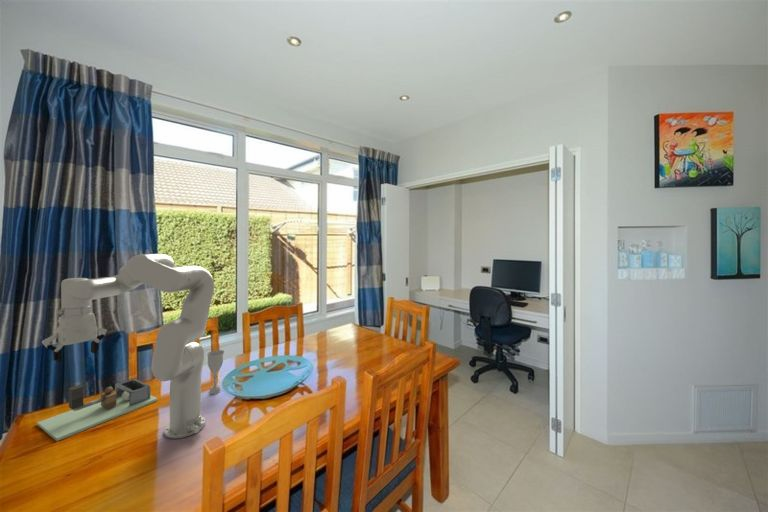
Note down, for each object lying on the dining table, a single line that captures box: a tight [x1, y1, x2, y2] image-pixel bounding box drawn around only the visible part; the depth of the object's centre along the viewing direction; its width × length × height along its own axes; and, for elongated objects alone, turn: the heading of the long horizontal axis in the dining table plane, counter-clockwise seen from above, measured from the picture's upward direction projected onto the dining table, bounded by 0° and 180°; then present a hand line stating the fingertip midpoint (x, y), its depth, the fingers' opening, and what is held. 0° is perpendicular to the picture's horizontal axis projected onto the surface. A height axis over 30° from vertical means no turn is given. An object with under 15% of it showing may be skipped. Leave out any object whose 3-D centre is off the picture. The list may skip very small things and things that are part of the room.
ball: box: [122, 391, 129, 400], centre depth 124 cm, size 4×4×4 cm
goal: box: [114, 378, 151, 406], centre depth 126 cm, size 13×7×7 cm, turn 63°
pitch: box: [36, 394, 159, 442], centre depth 117 cm, size 18×30×1 cm, turn 153°
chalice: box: [206, 349, 225, 395], centre depth 135 cm, size 7×7×18 cm
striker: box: [68, 384, 116, 411], centre depth 114 cm, size 5×12×12 cm, turn 153°
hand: (76, 357), depth 110 cm, fingers open, 9 cm apart
